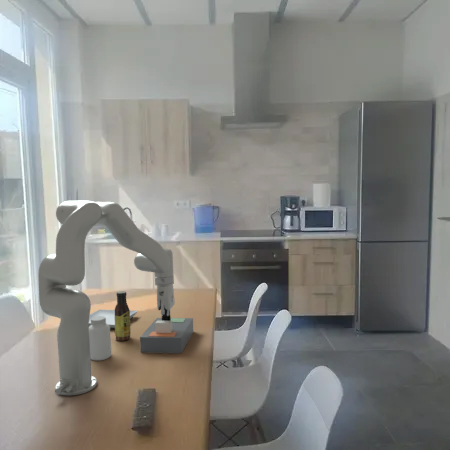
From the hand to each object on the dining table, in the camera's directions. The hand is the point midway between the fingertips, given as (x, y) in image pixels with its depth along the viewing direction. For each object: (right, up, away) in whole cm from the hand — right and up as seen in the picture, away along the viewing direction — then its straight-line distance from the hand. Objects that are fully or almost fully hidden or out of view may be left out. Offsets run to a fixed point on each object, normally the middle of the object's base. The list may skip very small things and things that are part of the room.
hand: (166, 324), depth 173 cm
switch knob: (0, -2, -3) cm, 4 cm away
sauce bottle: (-19, -8, +8) cm, 22 cm away
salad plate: (-32, -6, +30) cm, 44 cm away
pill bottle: (-23, -10, -11) cm, 27 cm away
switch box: (0, -8, +3) cm, 8 cm away
